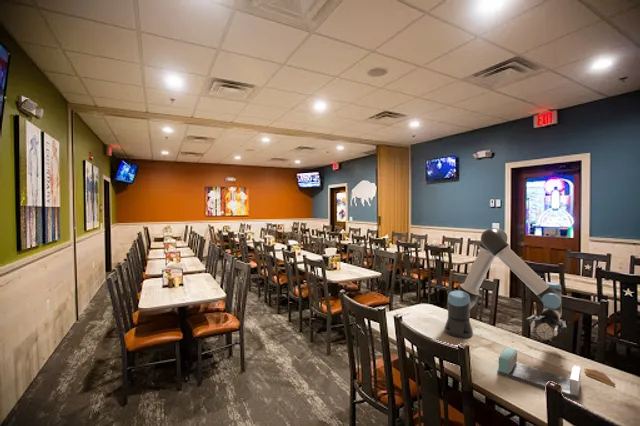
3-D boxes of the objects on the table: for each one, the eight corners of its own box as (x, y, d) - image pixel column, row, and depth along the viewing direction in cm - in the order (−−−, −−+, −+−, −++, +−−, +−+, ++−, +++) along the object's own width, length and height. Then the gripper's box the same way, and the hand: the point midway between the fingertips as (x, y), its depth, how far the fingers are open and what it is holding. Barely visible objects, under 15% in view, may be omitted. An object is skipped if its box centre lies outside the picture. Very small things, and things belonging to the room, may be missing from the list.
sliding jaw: (506, 359, 147) (506, 346, 147) (517, 362, 144) (517, 349, 144) (498, 370, 137) (498, 357, 137) (510, 374, 134) (510, 360, 134)
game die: (549, 349, 144) (564, 337, 138) (530, 341, 145) (544, 329, 139) (545, 333, 151) (559, 321, 145) (527, 325, 152) (540, 314, 147)
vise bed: (504, 362, 148) (505, 346, 148) (580, 384, 129) (580, 367, 129) (497, 373, 138) (497, 357, 137) (577, 400, 119) (578, 380, 119)
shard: (615, 388, 128) (615, 383, 128) (592, 384, 130) (592, 380, 130) (602, 374, 138) (602, 370, 138) (581, 371, 141) (581, 367, 141)
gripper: (576, 330, 151) (572, 345, 135) (525, 319, 166) (516, 331, 149) (576, 314, 151) (573, 328, 135) (525, 305, 165) (516, 316, 149)
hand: (543, 330), depth 142 cm, fingers closed on game die, 8 cm apart
